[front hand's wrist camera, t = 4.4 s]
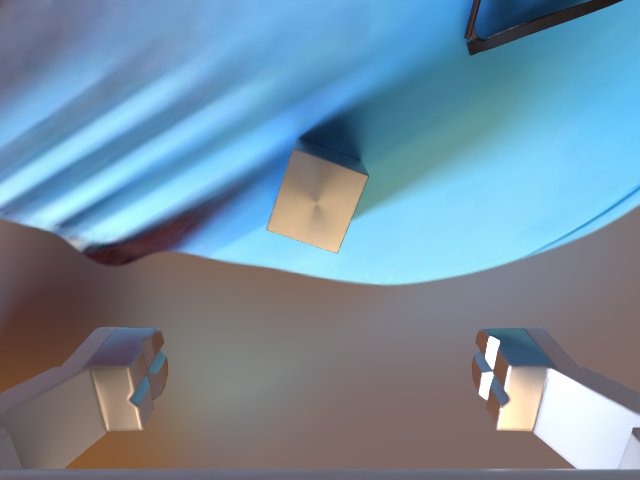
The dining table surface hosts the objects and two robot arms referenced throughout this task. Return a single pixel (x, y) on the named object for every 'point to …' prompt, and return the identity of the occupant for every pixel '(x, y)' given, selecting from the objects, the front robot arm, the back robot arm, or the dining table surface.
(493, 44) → the sunglasses
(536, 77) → the dining table surface
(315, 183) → the block
